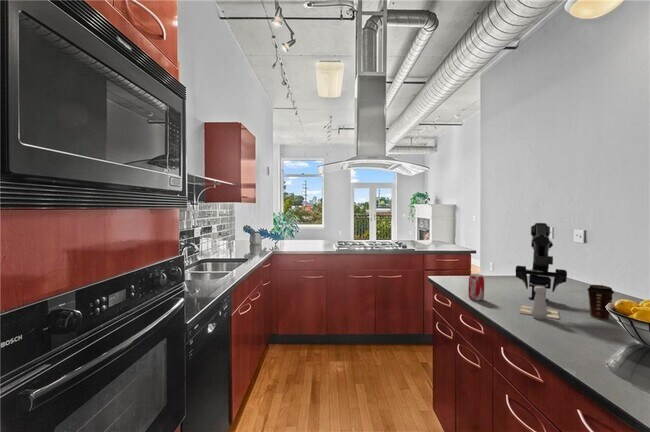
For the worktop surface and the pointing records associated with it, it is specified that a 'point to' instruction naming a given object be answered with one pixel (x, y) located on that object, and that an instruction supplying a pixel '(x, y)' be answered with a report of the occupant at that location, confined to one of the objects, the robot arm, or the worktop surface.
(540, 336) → the worktop surface
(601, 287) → the coffee cup
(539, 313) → the salt shaker
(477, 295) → the soda can
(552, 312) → the board
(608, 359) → the worktop surface
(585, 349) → the worktop surface
